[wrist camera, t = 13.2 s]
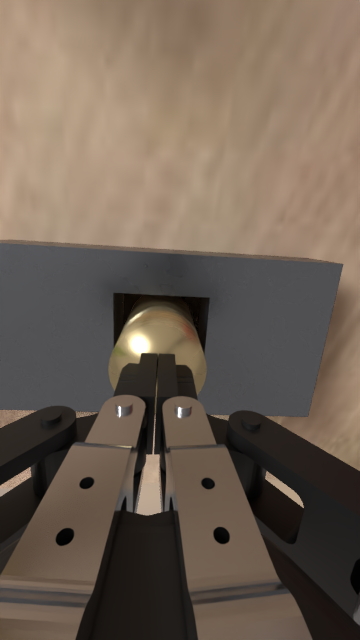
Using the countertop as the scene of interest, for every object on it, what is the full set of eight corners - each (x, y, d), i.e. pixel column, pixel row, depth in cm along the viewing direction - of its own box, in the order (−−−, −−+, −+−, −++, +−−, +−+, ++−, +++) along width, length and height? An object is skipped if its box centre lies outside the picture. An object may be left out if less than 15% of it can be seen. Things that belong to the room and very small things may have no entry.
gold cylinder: (193, 291, 20) (211, 327, 12) (188, 348, 21) (202, 414, 13) (130, 288, 19) (107, 322, 12) (130, 346, 21) (109, 412, 13)
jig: (308, 258, 19) (343, 264, 15) (283, 385, 22) (307, 416, 18) (10, 239, 18) (-32, 241, 14) (25, 377, 21) (-6, 409, 17)
